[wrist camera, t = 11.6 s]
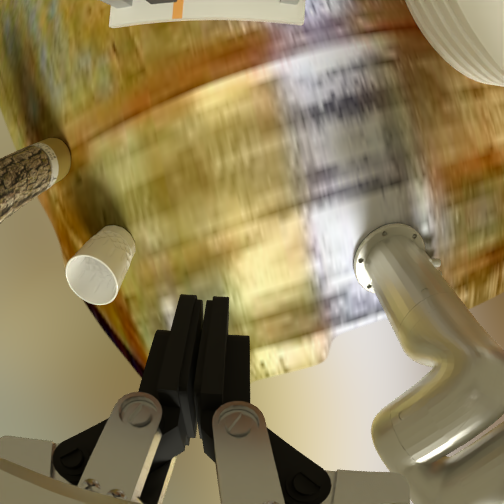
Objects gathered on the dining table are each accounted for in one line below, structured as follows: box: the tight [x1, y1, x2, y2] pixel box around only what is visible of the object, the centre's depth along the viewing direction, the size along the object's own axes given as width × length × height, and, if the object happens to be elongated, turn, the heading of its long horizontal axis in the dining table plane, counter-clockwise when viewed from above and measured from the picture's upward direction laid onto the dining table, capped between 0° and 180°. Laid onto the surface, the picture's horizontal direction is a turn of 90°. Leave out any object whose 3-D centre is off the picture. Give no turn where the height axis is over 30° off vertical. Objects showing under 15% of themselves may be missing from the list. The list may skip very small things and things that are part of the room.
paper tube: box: [0, 138, 71, 223], centre depth 27 cm, size 7×7×25 cm
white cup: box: [66, 225, 135, 305], centre depth 41 cm, size 8×8×10 cm
